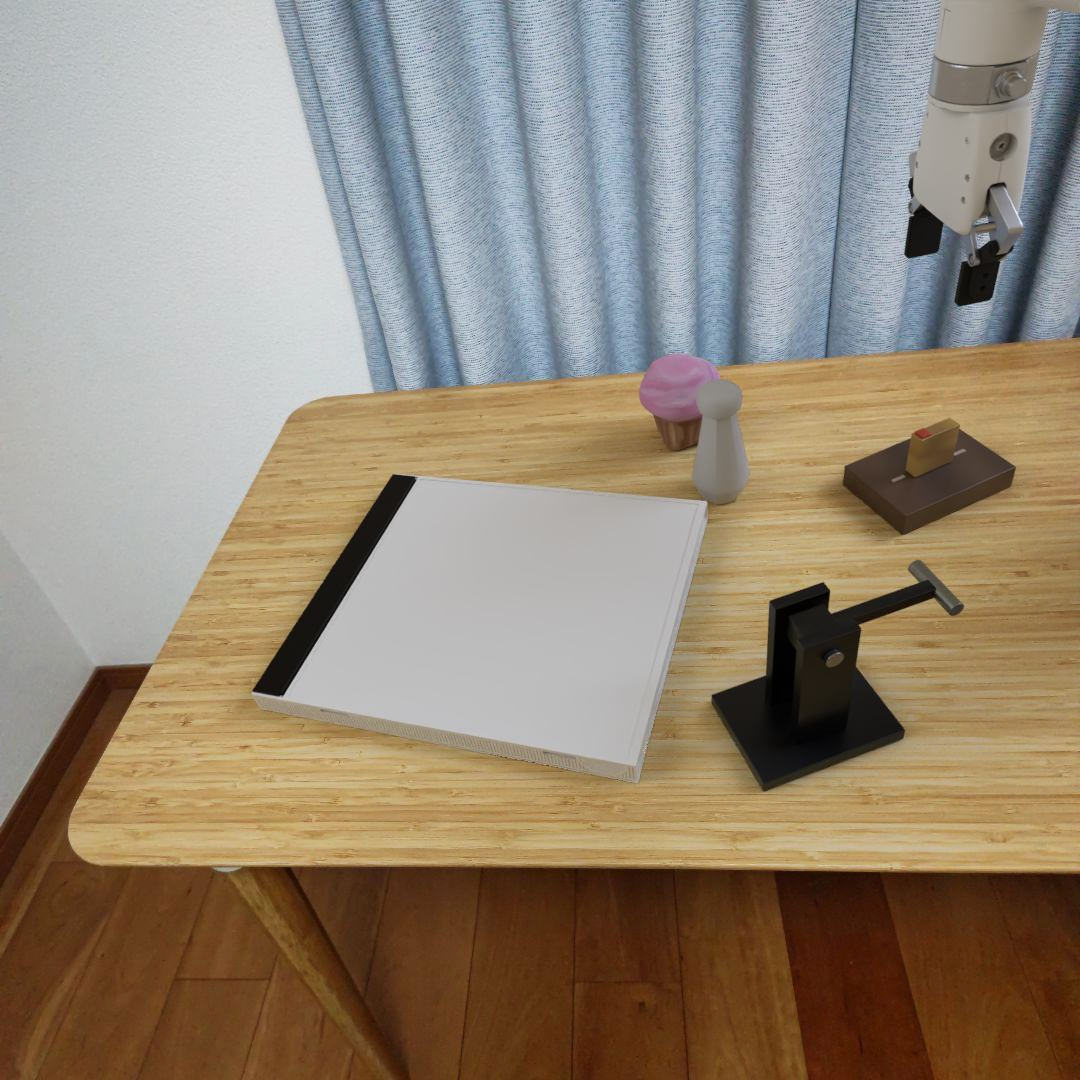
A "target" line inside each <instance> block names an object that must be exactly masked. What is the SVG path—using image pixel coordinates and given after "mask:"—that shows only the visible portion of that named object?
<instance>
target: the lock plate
mask: <svg viewBox="0 0 1080 1080" xmlns="http://www.w3.org/2000/svg"><path fill="white" fill-rule="evenodd" d="M910 441H911V437H910V438H907V439H905V440H902V441H900V442H898V443H896V444H893V445H891V446H889V447H886V448H884V449H881V450H879V451H877V452H874V453H871V454H870V455H868V456H865V457H863V458H860V459H858V460H856V461H853V462H851V463H849V464H846V465H844V469H843V477H842V479H843V480H842V486H844V487H845V488H846V489H847V490H848V491H849V492H850V493H851V494H853V495H854V496H855V497H856V498H858V500H860V501H861V502H863V503H864V504H865V505H866V506H867V507H868V508H870V509H871V510H872V511H873V512H875V513H876V514H877V515H878V516H879V517H881V518H882V519H883V521H885V522H886V523H888V524H889V525H890V526H891V527H892V528H894V530H896V531H897V532H898V533H899V534H900V535H902V536H904V535H907V534H908V533H910V532H912V531H915V530H917V529H920V528H921V527H924V526H926V525H929V524H931V523H934V522H935V521H937V520H940V519H941V518H944V517H946V516H948V515H950V514H953V513H955V512H957V511H959V510H961V509H962V510H963V509H964V508H966V507H968V506H971V505H973V504H975V503H977V502H979V501H982V500H984V499H986V498H988V497H991V496H993V495H995V494H997V493H1000V492H1002V491H1004V490H1007V489H1008V488H1011V487H1012V484H1013V481H1014V477H1015V473H1016V470H1017V466H1016V465H1014V464H1013V463H1011V462H1010V461H1009V460H1007V459H1005V458H1004V457H1002V456H1001V455H999V454H998V453H996V452H994V450H993V449H990V448H989V447H988V446H987V445H985V444H983V443H982V442H980V441H979V440H977V439H976V438H975V437H973V436H971V435H970V434H968V433H967V432H965V431H964V430H962V429H961V428H959V433H958V437H957V442H956V447H955V451H954V456H953V461H952V462H950V463H947V464H945V465H943V466H940V467H938V468H936V469H934V470H931V471H929V472H927V473H924V474H922V475H920V476H917V477H914V476H913V475H911V474H910V473H909V472H907V471H906V464H907V458H908V453H909V447H910Z"/></svg>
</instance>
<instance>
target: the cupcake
mask: <svg viewBox="0 0 1080 1080" xmlns="http://www.w3.org/2000/svg"><path fill="white" fill-rule="evenodd" d="M716 379H722V378H721V375H720V373H719V371H718V369H717V368H716V366H715V365H714V364H713V363H711V362H710V361H708V360H706V359H704V358H702V357H698V356H695V355H692V354H691V355H690V354H688V353H682V352H681V353H680V352H679V353H671V354H667V355H663V356H661V357H659V358H657V359H655V360H653V361H652V362H651V363H650V366H648V369H647V370H646V371H645V373H644V375H643V378H642V380H641V382H640V385H639V389H638V398H639V399H638V400H639V401H640V404H641V405H642V407H643V408H644V409H645V410H646V411H647V412H649V413H650V414H652V415H653V419H654V422H655V425H656V428H657V431H658V433H659V435H660V437H661V439H662V440H663V443H664V444H665V446H666V447H667V448H668V449H669V450H672V451H680V450H683V449H686V448H689V447H691V446H694V445H698V441H699V435H700V429H701V423H702V417H703V414H701V413H700V411H699V409H698V407H697V401H696V399H697V394H698V390H699V388H700V387H702V386H703V385H704V384H705V383H706V382H709V381H712V380H716Z"/></svg>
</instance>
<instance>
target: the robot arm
mask: <svg viewBox="0 0 1080 1080" xmlns="http://www.w3.org/2000/svg"><path fill="white" fill-rule="evenodd" d="M1050 9H1052V10H1057V11H1063V12H1067V13H1068V12H1069V13H1076V14H1080V0H940V5H939V12H938V13H939V14H938V18H937V19H938V20H937V26H936V34H935V42H934V48H933V53H932V54H933V55H932V62H931V68H930V76H929V83H928V90H927V104H926V108H925V112H924V116H923V121H922V125H921V130H920V136H919V140H918V145H917V151H915V152H914V151H913V152H912V153H909V155H908V168H909V169H908V170H909V177H910V178H909V179H908V181H907V182H908V184H907V188H908V191H909V194H910V201H908V204H907V212H908V214H909V215H910V216H908V222H907V231H906V238H905V244H904V251H903V255H904V256H905V257H906V258H907V259H914V258H919V257H923V256H928V255H929V256H930V255H933V254H937V253H939V251H940V247H941V241H942V236H943V229H944V225H946V226H947V227H948V228H950V230H952V231H953V232H955V233H957V234H959V235H960V236H962V238H963V244H964V249H965V255H966V260H965V261H961V263H960V268H959V273H958V279H957V284H956V289H955V290H956V291H955V294H954V304H955V305H956V306H958V307H965V306H969V305H975V304H979V303H984V302H988V301H990V300H992V299H993V297H994V293H995V290H996V289H995V288H996V285H997V284H996V283H997V281H998V280H997V279H998V275H999V270H1000V266H1001V261H1004V260H1005V259H1006V258H1007V255H1009V254H1010V253H1012V252H1013V250H1014V248H1015V245H1016V243H1017V241H1018V240H1019V238H1020V237H1021V236H1022V234H1023V232H1024V224H1023V222H1022V219H1021V217H1020V215H1019V213H1020V209H1021V205H1022V200H1023V199H1022V198H1023V194H1024V188H1025V183H1026V176H1027V169H1028V164H1029V156H1030V148H1031V137H1032V120H1033V118H1032V117H1033V115H1032V114H1033V113H1032V111H1033V110H1032V105H1033V104H1032V102H1031V101H1030V100H1029V99H1030V98H1031V95H1032V91H1033V87H1034V82H1035V77H1036V71H1037V67H1038V63H1039V58H1040V53H1041V49H1042V45H1043V39H1044V35H1045V30H1046V25H1047V21H1048V16H1049V11H1050ZM986 218H987V222H984V223H978V224H974V223H977V222H978V220H980V219H981V220H982V219H986ZM987 233H988V236H989V240H988V241H987V242H986V243H984V244H983V245H982V246H981V247H980V245H979V240H978V235H982V234H987Z"/></svg>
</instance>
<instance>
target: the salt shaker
mask: <svg viewBox="0 0 1080 1080" xmlns="http://www.w3.org/2000/svg"><path fill="white" fill-rule="evenodd" d="M696 401H697V407H698V409H699V411H700V413H701V414H703V417H702V423H701V429H700V435H699V441H698V443H697V447H696V451H695V457H694V461H693V462H694V463H693V466H692V467H693V468H692V472H691V479H692V481H693V484H694V486H695V488H696V490H697V491H698V494H699V495H700V497H701V499H703V500H704V501H707V502H709V503H712V504H713V505H715V506H720V505H724V504H725V505H726V504H729V503H733V502H734V503H735V501H736V500H737V498H738V497H739V495H740V494H741V493H742V491H743V490H744V488H746V486H747V485H748V481H749V478H750V475H751V474H750V473H751V470H750V465H749V461H748V457H747V451H746V448H745V445H744V444H745V443H744V439H743V434H742V430H741V425H740V421H739V417H738V413H739V411H740V410H741V407H742V404H743V392H742V389H741V387H740V386H739V385H738V384H737V383H735V382H733V381H731V380H730V379H723V378H721V379H716V380H712V381H709V382H706V383H705V384H704V385H703V386H702V387H700V388H699V390H698V394H697V399H696Z"/></svg>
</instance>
